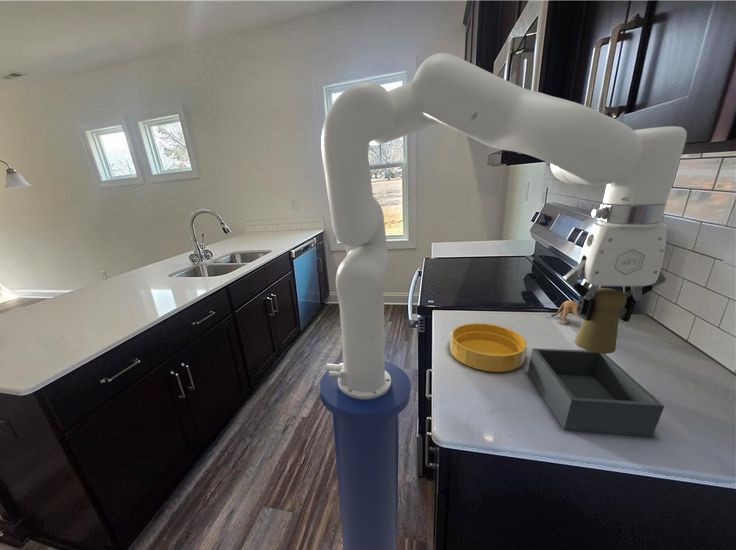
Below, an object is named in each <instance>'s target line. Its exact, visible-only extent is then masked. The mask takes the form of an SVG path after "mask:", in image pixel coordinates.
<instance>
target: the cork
mask: <svg viewBox="0 0 736 550" xmlns="http://www.w3.org/2000/svg"><path fill="white" fill-rule="evenodd" d="M592 299H593V300H595V305H594V309H593V313H592V317H591V320H589V321H585V320H584V319H583V320H582V322H581V325H580V328H579V330H578V332H577V334H576V337H575V339H574V344H575V345H576V346H577V347H579V348H581V349H582V350H588V351H591V352H595V353H602V354H606V355H607V354H608V355H609V354H613V353H615V351H616V349H617V340H618V328H619V320H620V318H619V310H621V309H622V308H623V307H624V306H625V305H626V302H627V298H626V295H625V294H624V293H623V291H621V290H618V289H615V288H609V287H599V288H598V290H597V291H596V293H595V295H594V296H593V298H592Z"/></svg>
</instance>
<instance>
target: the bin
mask: <svg viewBox="0 0 736 550" xmlns="http://www.w3.org/2000/svg"><path fill="white" fill-rule="evenodd" d="M529 359H530V360H529V364H528V369H527V374H528V376H529V378H530V379H531V381H532V382H533V384H534V385H535V387H536V388H537V390H538V392H539V394H540V395H541V396H542V398H543V400H544V402H545V403H546V404H547V406H548V407H549V409H550V410H551V412H552V413H553V415H554V416H555V418H556V420H557V422H558V423H559V424H560V425H561V427H562V429H563V430H564V431H573V432H586V433H587V432H588V433H599V434H611V435H623V436H634V437H635V436H637V437H648V438H649V437H650V438H653V436H654V434H655V431H656V429H657V426H658V424H659V421H660V418H661V416H662V413H663V411H664V409H665V405H664V404H663V403H662V402H661V401H659V400H658V399H657V398H656V397H655V396H654V395H653V394H652V393H650V392H649V391H648V390H647V389H646V388H644V387H643V385H641V384H640V383H639V382H638V381H637V380H636V379H634V378H633V377H632V375H630V374H629V373H627V371H625V370H624V368H622V367H621V366H620V365H619V364H617V363H616V361H614V360H613V359H612V358H611V357H610V356H608V355H607V354H602V353H595V352H591V351H588V350H585V349H561V348H560V349H559V348H557V349H556V348H535V347H533V348H532V349H531V355H530V358H529Z"/></svg>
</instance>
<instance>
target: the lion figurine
mask: <svg viewBox="0 0 736 550" xmlns="http://www.w3.org/2000/svg"><path fill="white" fill-rule="evenodd" d="M577 305H578V302H576V301H574V300H566V301H564V302H563V303H562V304H561V305H560V307H559V308H558V310H557V311H556V313H553V314H551V315H550V317H551V318H552V317H553V318H554V317H556V316H557V315H559V316H558V317H559V319H562V324H564V325H568V323H569V322H568V321H567V319H566V318H567V316H568V315H569V314H570V313H572V314H573V315H574V316H575V317H576V318H580V319H582V318H581V317H580V316H579V315H578V314H577V311H576V310H577ZM562 309H563V310H562Z"/></svg>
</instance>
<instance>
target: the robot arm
mask: <svg viewBox="0 0 736 550" xmlns="http://www.w3.org/2000/svg"><path fill="white" fill-rule="evenodd" d="M438 123H440V124H443V125H445V126H447V127H449V128H451V129H453V130H454V131H457V132H459V133H461V134H463V135H466V136H467V137H469V138H471V139H473V140H475V141H477V142H479V143H481V144H482V145H485V146H487V147H491V148H494V149H496V150H502V151H508V152H516V153H520V154H522V155H523V154H524V155H527V156H530V157H533V158H536V159H539V160H541V161H543V162H546V163H548V164H550V171H551V173H552V175H553V176H554V177H555V178H556V179H557V180H558V181H560V182H563V183H565V184H571V185H584V186H585V185H586V186H598V187H600V186H605V191H604V196H603V198H602V203H601V204H600V207H599V208H593V209H592V210H591V214H590V215H591V217H592V218H597V222H594V223H593V224H592V226H591V228H590V230H589V232H588V234H587V235H586V239H585V240H584V243H583V246H582V249H581V252H580V255H579V258H578V262H577V264H576V265H575V266H574V267H573V268H572V269H570V270H569V271H568V272H567V273H566V274H565V275H564V276H563V277H562V280H563V282H565V283H566V284H567V285H569V286H570V287H571V288H572V289H573V291H575V292H576V294H577V295H579V296H578V301H577V303H578V305H577V310H576V311H577V314H578V315H579V316H580V317H581V318H580V319H581V320H582V319H583V321H584V320H585V321H589V320H591V317H592V313H593V309H594V305H595V300H593V299H592V298H593V296H594V295H595V293H596V291H597V290H598V288H601V287H622V292H623V293H624V294H625V295H626V298H627V302H626V305H625V306H624V307H623V308H622V309H621V310H619V320H621V321H623V322H625V323H626V322H627V323H628V322H630V320H631V316H632V315H633V312H634V310H635V306H636V304H637V301H640V300H641V299H643V296H645V295H646V294H647V293H649V292H651V291H652V290H653V288H656V287H658V286H660V285H661V284H663V283H665V282H666V280H667V278H666V276H665V275H664V273H663V272H662V271H661V270H662V266H663V261H664V257H665V252H666V246H667V224H666V223H662V220H663V216H664V213H665V209H666V207H667V204H668V201H669V197H670V194H671V190H672V187H673V184H674V182H675V181H674V180H675V177H676V174H677V170H678V167H679V164H680V161H681V159H682V155H683V151H684V148H685V146H686V145H685V144H686V141H687V137H688V134H687V133H688V132H687V130H686V129H685V128H684V127H682V126H677V125H676V126H675V125H674V126H673V125H670V126H657V127H656V126H655V127H649V128H640V129H635V130H634V129H632V128H631V126H628V125H627V124H625V123H623V122H621V121H619V120H617V119H615V118H613V117H610V116H609V115H607V114H605V113H603V112H600V111H598V110H596V109H593V108H591V107H589V106H586V105H584V104H581V103H578V102H576V101H571V100H568V99H565V98H561V97H557V96H553V95H550V94H545V93H543V92H540V91H535V90H531V89H528V88H524V87H523V86H520V85H517V84H515V83H513V82H511V81H509V80H507V79H504V78H502V77H500V76H498V75H496V74H494V73H492V72H490V71H487V70H486V69H484V68H482V67H479V66H477V65H476V64H473V63H471V62H470V61H467V60H465V59H463V58H461V57H459V56H456V55H454V54H451V53H447V52H438V53H434V54H432V55H430V56H429V57H427V58H426V59H425V60H424V61H423V62H422V63H421V64H420V65H419V67H418V68H417V70H416V72H415V74H414V76H413V79H412V80H411V81H409V82H407V83H405V84H402V85H399V86H397V87H395V88H394V89H391V90H387V89H386V88H385V87H384V86H382V85H381V84H379V83H377V82H375V81H371V80H363V81H359V82H356V83H354V84H352V85H350V86H349V87H347V88H346V89H345V90H344V91H342V93H340V94H339V95H338V97H337V98H336V99H335V100H334V101H333V103H332V105H331V106H330V108H329V109H328V111H327V113H326V116H325V118H324V122H323V124H322V130H321V138H320V139H321V140H320V144H321V145H320V147H321V157H322V164H323V165H322V166H323V172H324V177H325V186H326V194H327V200H328V207H329V214H330V221H331V222H330V223H331V229H332V232H333V235H334V237H335V238H336V240H337V241H338V242H339V243H340V244H342V245H344V246H345V251H346V256H345V257H344V259H343V260H342V261H341V262H340V264H339V266H338V267H337V270H336V275H335V290H336V295H337V300H338V306H339V317H340V331H341V347H342V362H343V363H341V362H339V363H340V364H339V365H336V364H335V363H326V366H325V372H326V371H327V372H329V377H338V386H339V388H340V390H341V391H342V392H343V393H344V394H345V395H347V396H349V397H352V398H355V399H363V400H367V399H374V398H378V397H380V396H382V395H384V394H385V393H387V392H388V390H389V389H390V387H391V377H390V375H389V373H388V372H387V371H385V361H386V360H385V354H386V353H385V300H384V284H385V279H386V274H387V272H388V268H389V255H388V244H387V235H386V227H385V226H386V225H385V224H386V223H385V216H384V212H383V208H382V207H381V204H380V202H379V201H378V200H377V199H376V198H375V197H374V193H373V186H372V172H371V165H370V159H369V148H370V146H379V145H383V144H387V143H389V142H392V141H394V140H397V139H400V138H403V137H406V136H408V135H411V134H413V133H416V132H419V131H422V130H424V129H426V128H429V127H431V126H433V125H436V124H438ZM578 278H580V279H582V280H583V281H582V282H581V283H580V281H578Z"/></svg>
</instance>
